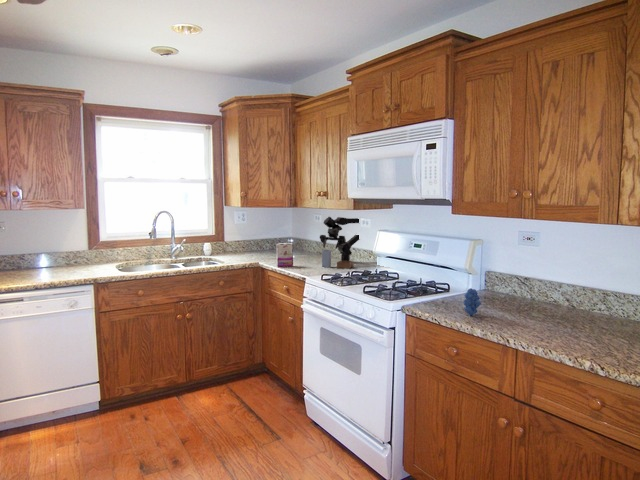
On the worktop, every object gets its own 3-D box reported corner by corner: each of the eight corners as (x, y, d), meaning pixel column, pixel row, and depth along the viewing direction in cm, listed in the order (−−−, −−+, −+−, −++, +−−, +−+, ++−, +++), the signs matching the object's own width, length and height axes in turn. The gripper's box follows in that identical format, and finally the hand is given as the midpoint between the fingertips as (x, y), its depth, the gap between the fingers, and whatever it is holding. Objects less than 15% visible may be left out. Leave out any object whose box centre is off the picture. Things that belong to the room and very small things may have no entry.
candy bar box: (291, 265, 318) (291, 242, 317) (293, 266, 314) (293, 243, 312) (276, 266, 315) (276, 243, 314) (277, 267, 311) (277, 243, 309)
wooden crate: (340, 266, 318) (340, 260, 318) (353, 266, 315) (353, 261, 315) (336, 268, 310) (336, 262, 309) (349, 268, 306) (349, 263, 306)
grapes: (474, 320, 183) (475, 291, 182) (458, 316, 188) (460, 289, 187) (486, 315, 191) (488, 287, 190) (471, 311, 196) (473, 285, 195)
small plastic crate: (324, 266, 316) (324, 249, 315) (331, 266, 315) (331, 250, 313) (321, 267, 312) (322, 250, 310) (328, 267, 310) (328, 250, 309)
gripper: (320, 223, 325) (314, 240, 316) (344, 224, 318) (339, 241, 309) (324, 233, 333) (318, 249, 324) (347, 234, 327) (343, 251, 317)
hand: (329, 247), depth 318 cm, fingers open, 9 cm apart
